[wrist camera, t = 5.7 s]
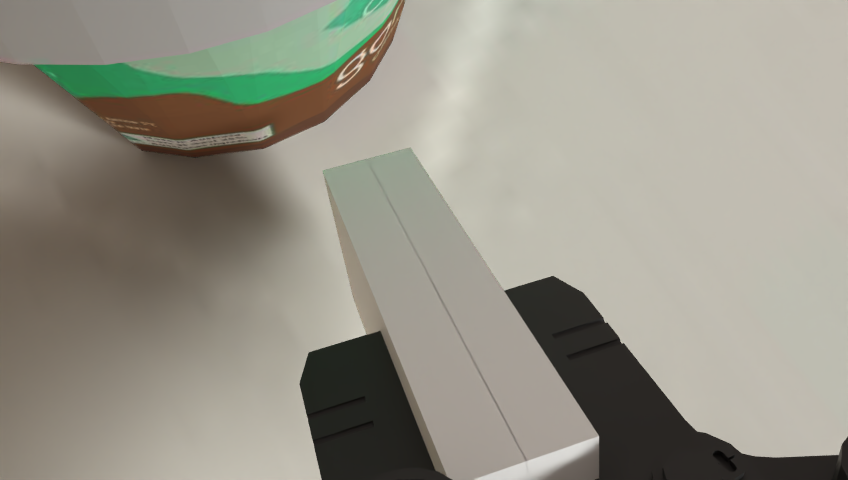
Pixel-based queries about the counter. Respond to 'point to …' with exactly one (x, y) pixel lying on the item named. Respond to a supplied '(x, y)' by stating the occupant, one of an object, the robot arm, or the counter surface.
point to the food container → (203, 63)
